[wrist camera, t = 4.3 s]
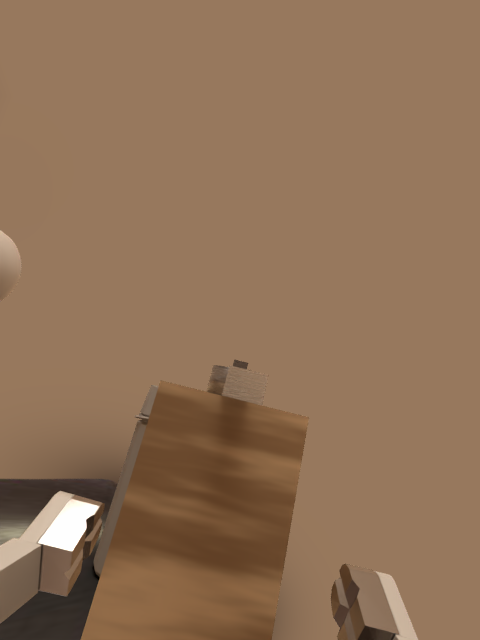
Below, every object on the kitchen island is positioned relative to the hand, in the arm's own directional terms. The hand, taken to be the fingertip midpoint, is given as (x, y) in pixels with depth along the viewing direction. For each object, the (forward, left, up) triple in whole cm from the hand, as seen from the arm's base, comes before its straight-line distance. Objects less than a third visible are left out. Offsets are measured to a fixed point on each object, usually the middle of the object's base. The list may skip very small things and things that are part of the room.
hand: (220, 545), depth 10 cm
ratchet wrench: (-8, +14, +5) cm, 17 cm away
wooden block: (-11, +19, -21) cm, 31 cm away
